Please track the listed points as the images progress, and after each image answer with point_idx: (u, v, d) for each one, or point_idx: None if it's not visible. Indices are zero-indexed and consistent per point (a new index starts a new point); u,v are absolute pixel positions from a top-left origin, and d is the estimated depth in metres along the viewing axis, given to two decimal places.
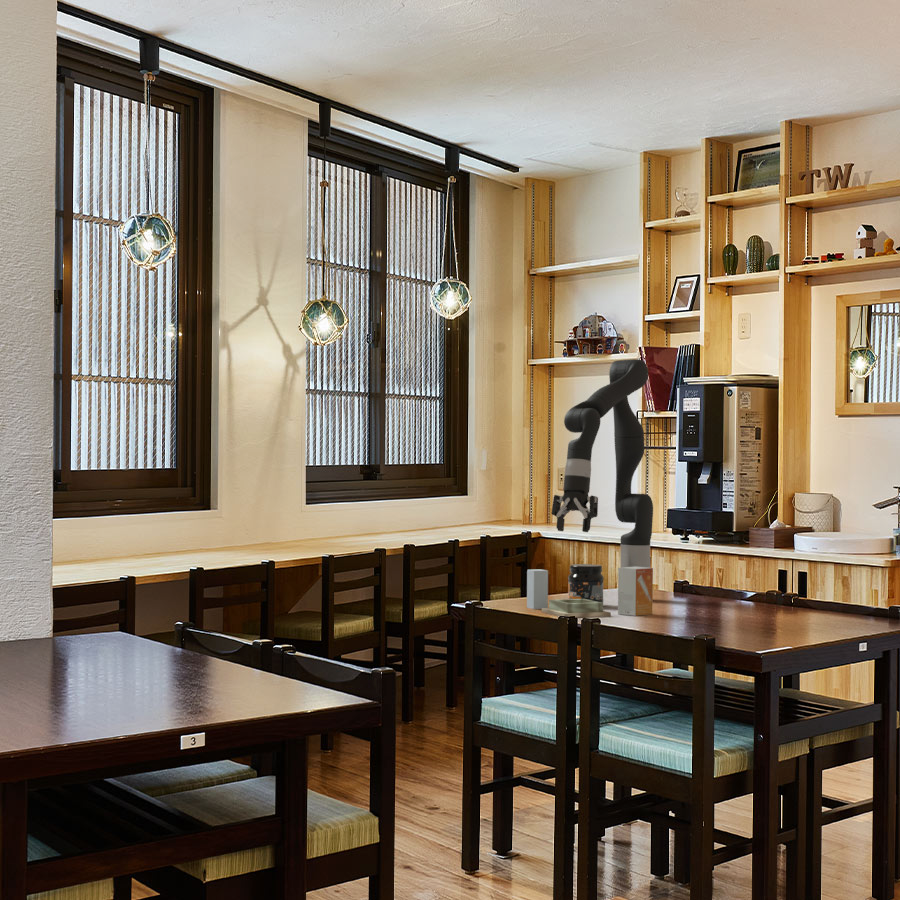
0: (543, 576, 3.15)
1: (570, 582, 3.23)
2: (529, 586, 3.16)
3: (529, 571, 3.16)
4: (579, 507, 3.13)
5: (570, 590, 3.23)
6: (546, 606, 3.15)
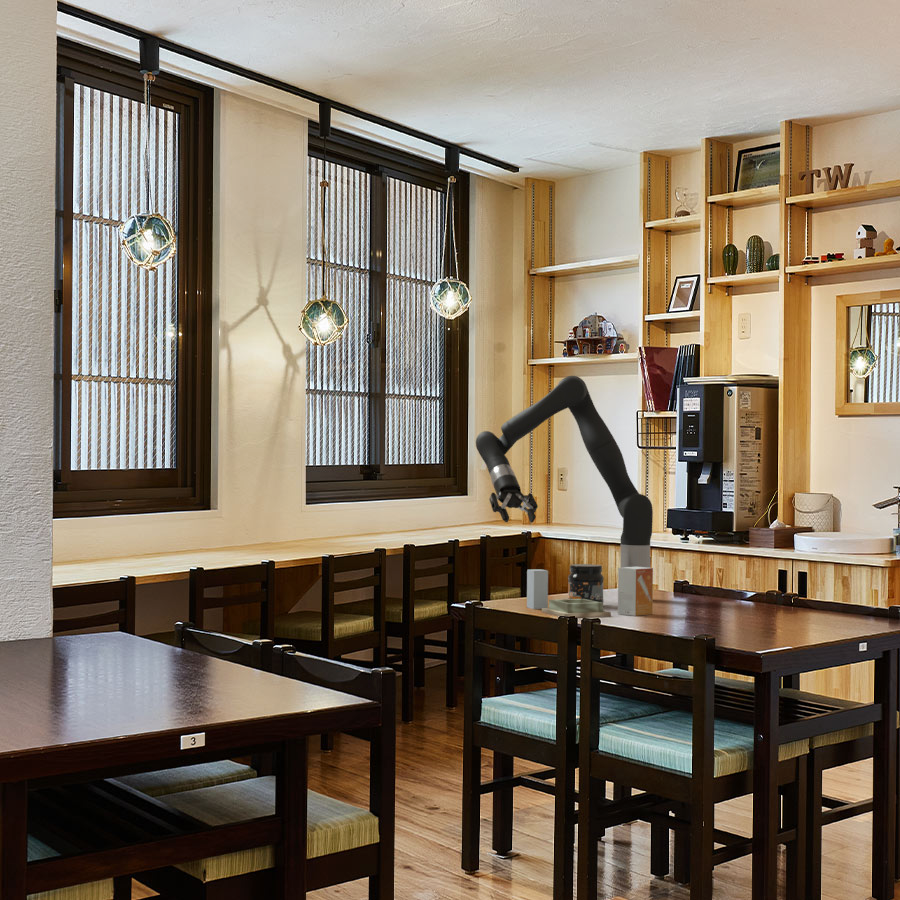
0: (543, 576, 3.15)
1: (570, 582, 3.23)
2: (529, 586, 3.16)
3: (529, 571, 3.16)
4: None
5: (570, 590, 3.23)
6: (546, 606, 3.15)
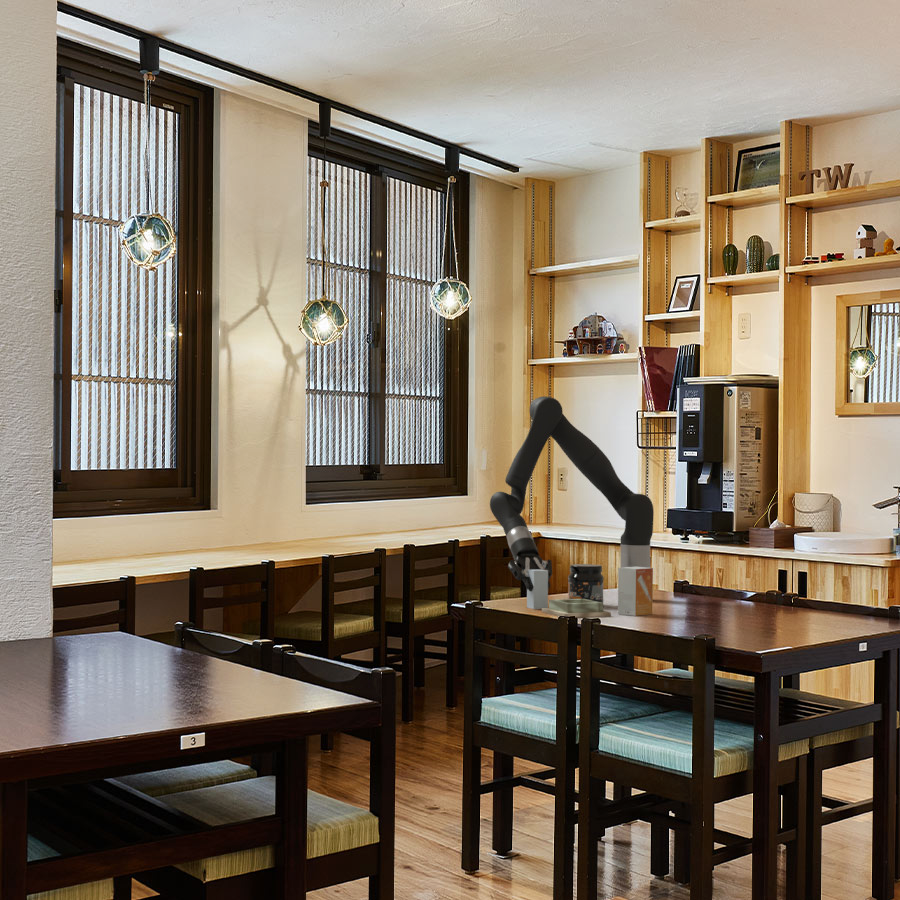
0: (543, 576, 3.15)
1: (570, 582, 3.23)
2: None
3: (529, 571, 3.16)
4: None
5: (570, 590, 3.23)
6: (546, 606, 3.15)
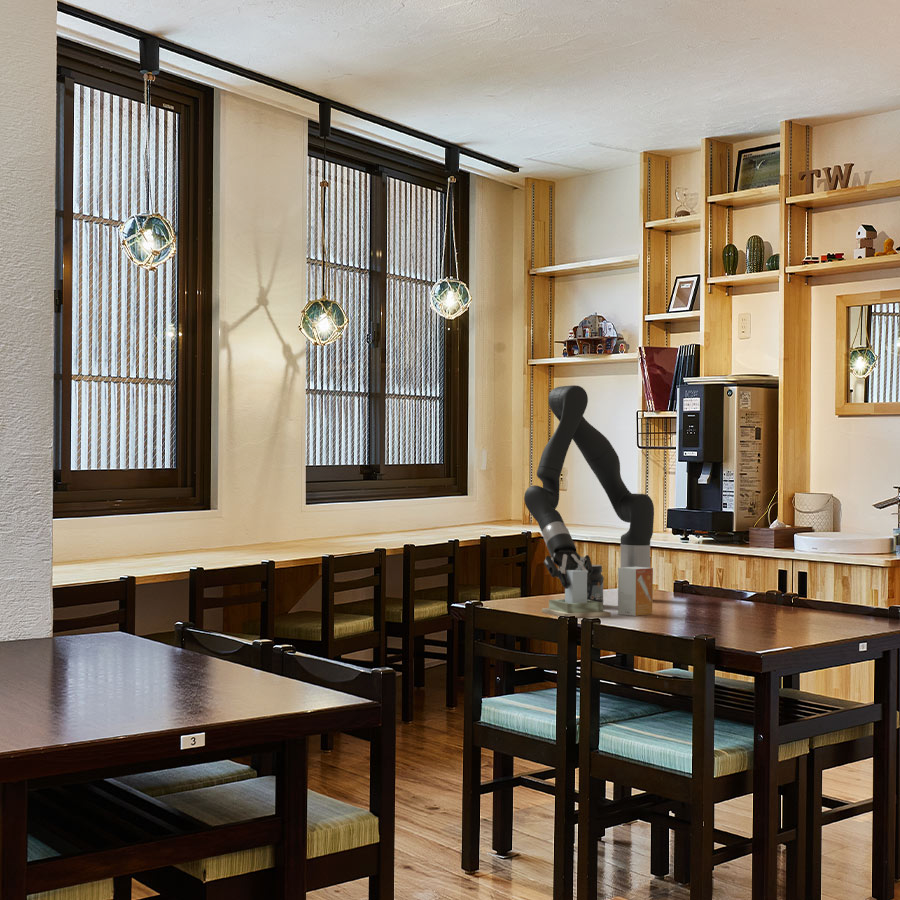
0: (582, 576, 3.01)
1: None
2: (568, 588, 3.03)
3: (567, 572, 3.03)
4: None
5: None
6: None
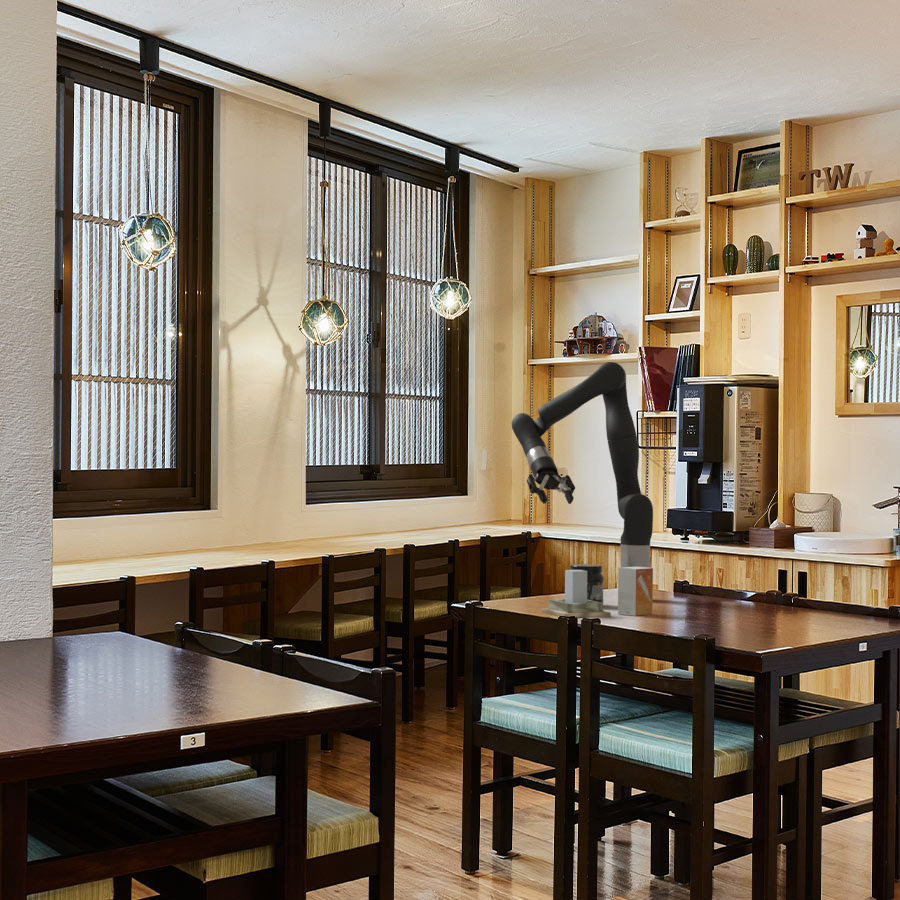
0: (582, 576, 3.01)
1: None
2: (568, 588, 3.03)
3: (567, 572, 3.03)
4: None
5: None
6: None
